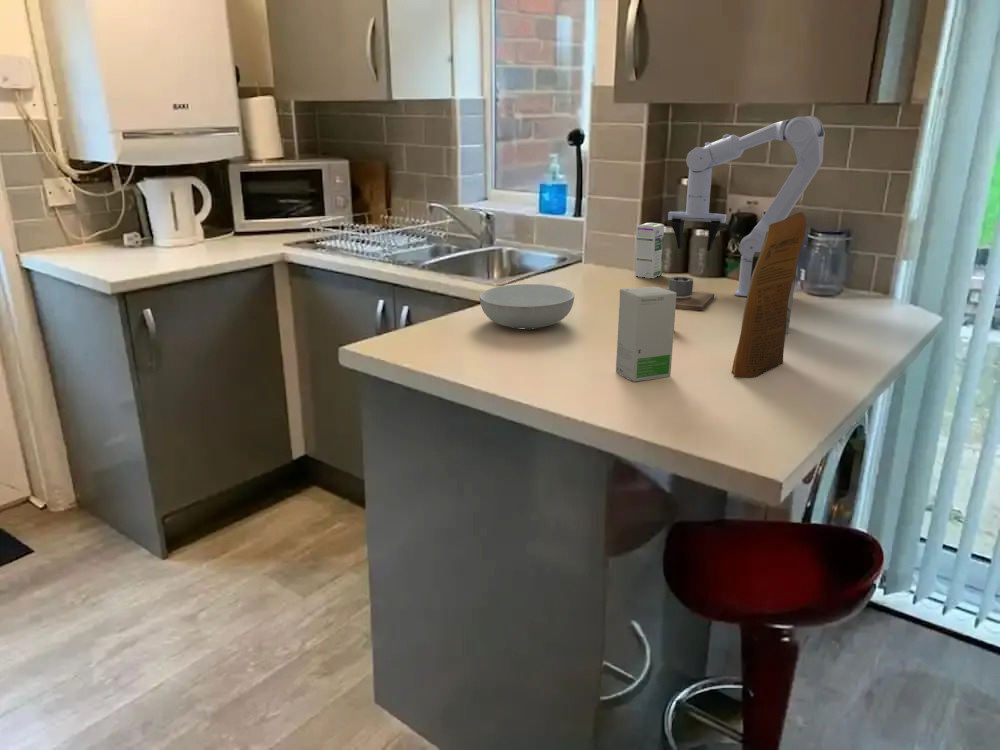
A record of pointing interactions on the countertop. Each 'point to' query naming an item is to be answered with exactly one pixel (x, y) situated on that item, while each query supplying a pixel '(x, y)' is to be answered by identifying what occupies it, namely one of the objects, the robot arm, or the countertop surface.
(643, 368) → the skincare box
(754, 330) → the pancake mix bag
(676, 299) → the piston post
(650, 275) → the syrup box
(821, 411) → the countertop surface
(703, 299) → the board
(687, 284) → the ring
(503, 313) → the serving bowl
